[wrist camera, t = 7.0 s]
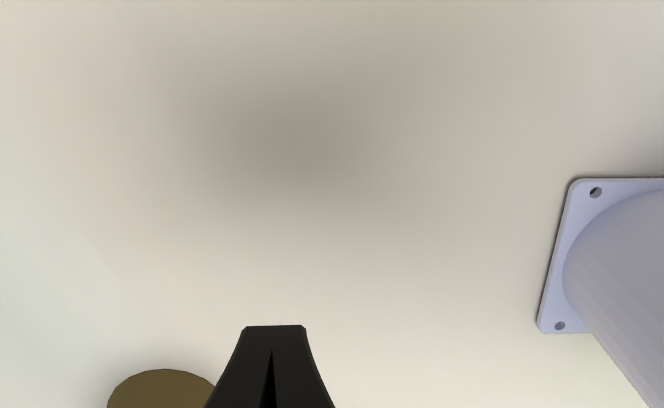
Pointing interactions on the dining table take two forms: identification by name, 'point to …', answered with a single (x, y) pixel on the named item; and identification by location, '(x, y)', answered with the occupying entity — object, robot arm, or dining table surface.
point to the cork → (161, 390)
